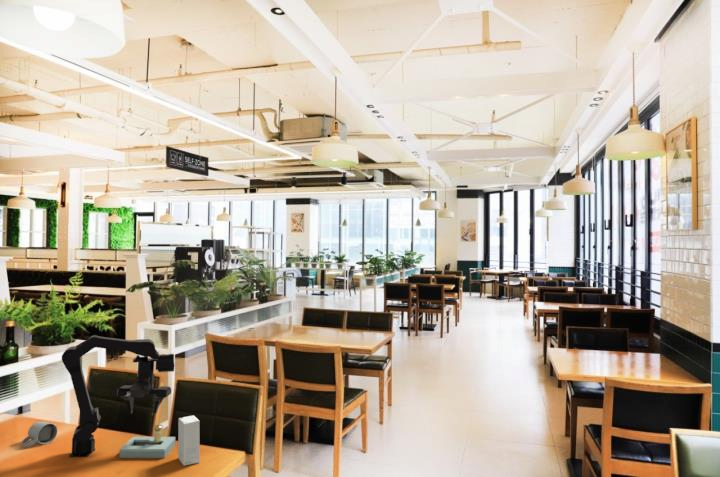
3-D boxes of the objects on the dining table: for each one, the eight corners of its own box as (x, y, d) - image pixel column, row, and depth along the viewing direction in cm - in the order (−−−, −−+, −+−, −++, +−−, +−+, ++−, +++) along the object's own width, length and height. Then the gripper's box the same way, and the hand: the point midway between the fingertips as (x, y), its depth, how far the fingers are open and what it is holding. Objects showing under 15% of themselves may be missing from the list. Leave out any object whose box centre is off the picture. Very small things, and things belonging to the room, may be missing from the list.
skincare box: (199, 463, 175) (201, 420, 175) (182, 466, 172) (183, 423, 172) (193, 454, 182) (194, 414, 182) (176, 458, 179) (178, 416, 179)
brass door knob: (148, 454, 181) (149, 428, 182) (153, 448, 186) (153, 423, 187) (161, 454, 182) (162, 428, 182) (165, 449, 186) (166, 424, 187)
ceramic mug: (45, 436, 196) (46, 417, 196) (57, 440, 192) (58, 420, 192) (16, 445, 187) (17, 425, 187) (28, 450, 183) (29, 429, 183)
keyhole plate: (119, 457, 177) (119, 449, 178) (133, 445, 189) (133, 436, 189) (164, 458, 178) (164, 449, 178) (175, 445, 190) (175, 436, 190)
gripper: (111, 377, 182) (108, 420, 181) (162, 378, 182) (159, 421, 181) (124, 370, 193) (122, 410, 192) (172, 371, 193) (170, 412, 193)
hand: (143, 413), depth 189 cm, fingers open, 9 cm apart
